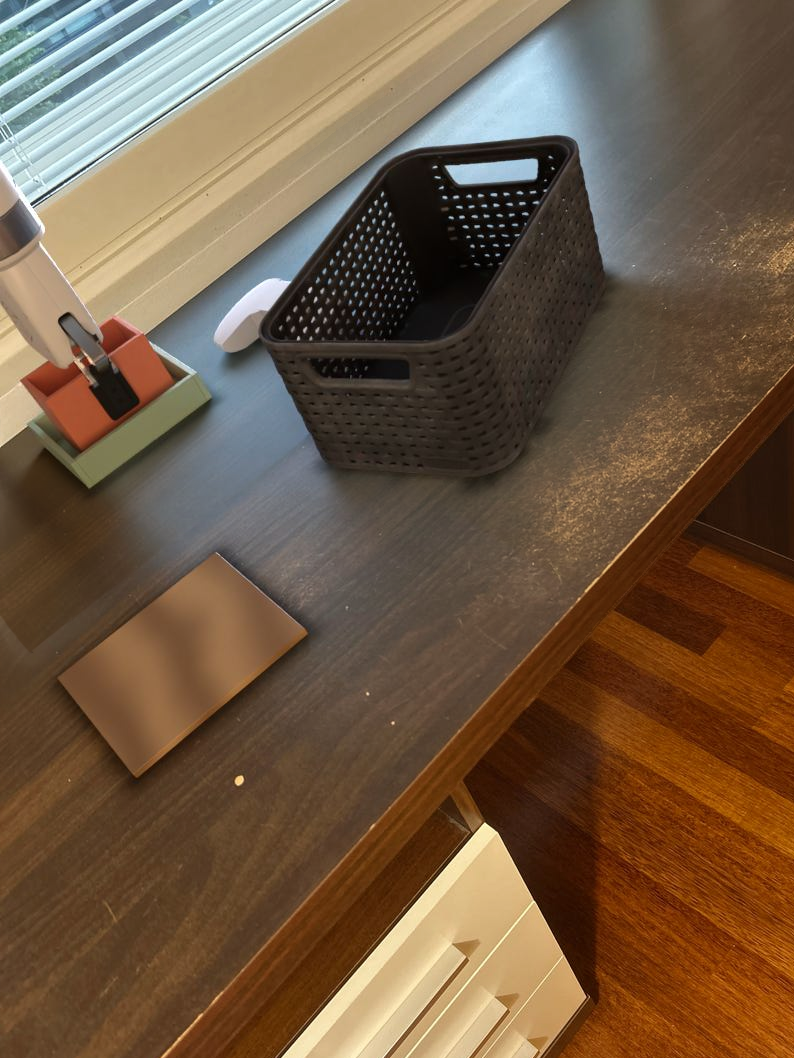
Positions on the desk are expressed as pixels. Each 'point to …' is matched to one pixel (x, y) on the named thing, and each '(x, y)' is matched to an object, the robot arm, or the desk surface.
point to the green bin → (128, 426)
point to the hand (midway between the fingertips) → (110, 397)
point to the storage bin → (441, 311)
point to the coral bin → (69, 392)
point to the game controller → (255, 316)
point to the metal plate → (179, 661)
